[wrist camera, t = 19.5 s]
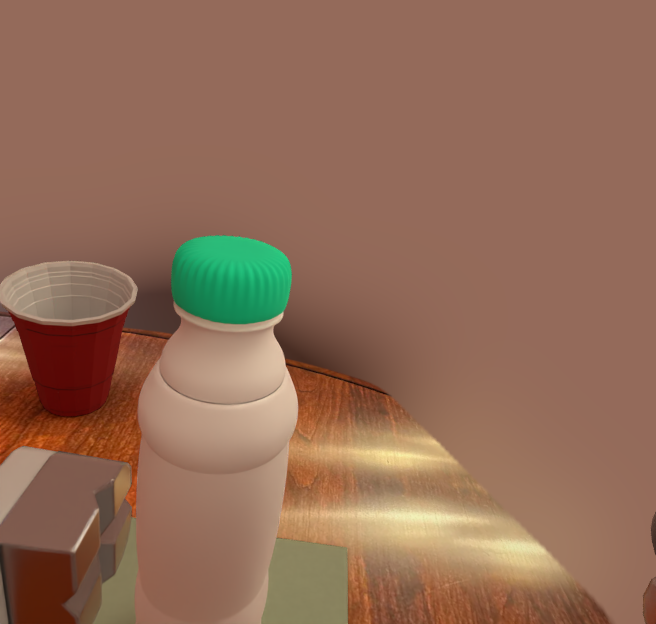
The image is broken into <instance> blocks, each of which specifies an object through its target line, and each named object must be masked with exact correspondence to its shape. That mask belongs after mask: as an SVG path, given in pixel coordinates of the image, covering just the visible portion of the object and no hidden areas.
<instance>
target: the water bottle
mask: <svg viewBox="0 0 656 624" xmlns="http://www.w3.org/2000/svg"><path fill="white" fill-rule="evenodd" d="M171 275H172V276H171V289H172V295H173V299H174V309H175V311H176V313H177V314H178V315H179V316H180V317H181V325H180V327H179V329H178V330H177V331H176V332H175V333H174V334H173V336H172V337H171V338H170V339H169V341H168V342H167V343H166V345H165V347H164V349H163V352H162V355H161V357H160V359H159V360H158V361H157V363H156V364H155V366H154V367H153V369H152V370H151V372H150V373H149V375H148V377H147V378H146V380H145V382H144V384H143V387H142V389H141V392H140V396H139V401H138V421H139V426H140V429H141V432H142V438H141V444H140V452H139V462H138V475H137V498H136V543H137V558H138V568H139V569H138V573H137V577H136V584H135V598H134V599H135V615H136V623H135V624H261V617H262V615H263V611H264V608H265V604H266V599H267V592H268V580H269V578H268V568H269V565H270V562H271V558H272V554H273V550H274V546H275V542H276V537H277V532H278V527H279V521H280V515H281V510H282V503H283V497H284V490H285V483H286V475H287V465H288V452H289V440H290V439H291V437H292V435H293V432H294V429H295V426H296V422H297V416H298V401H297V395H296V391H295V388H294V385H293V382H292V380H291V377H290V375H289V372H288V370H287V368H286V365H285V358H284V355H283V352H282V349H281V347H280V346H279V344H278V342H277V340H276V339H275V336H274V334H273V328H274V325H276V324H277V323H279V322H280V321H281V319H282V317H283V313H284V310H285V308H286V305H287V302H288V298H289V293H290V288H291V277H292V272H291V266H290V262H289V260H288V258H287V257H286V255H284V254H283V253H282V252H281V251H280V250H278V249H276V248H275V247H273V246H271V245H269V244H266V243H264V242H262V241H257V240H255V239H249V238H242V237H240V236H239V237H234V236H225V235H223V236H219V235H216V236H207V237H205V236H204V237H200V238H194V239H192V240H189V241H187V242H186V243H184V244H182V245H181V247H180V248H179V249H178V250H177V252H176V254H175V257H174V260H173V265H172V274H171Z"/></svg>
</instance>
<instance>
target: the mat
mask: <svg viewBox="0 0 656 624" xmlns="http://www.w3.org/2000/svg"><path fill="white" fill-rule="evenodd" d="M138 569H139V568H138V558H137V543H136V518H132V517H131V526H130V533H129V537H128V541H127V544H126V548H125V551H124V555H123V558H122V560H121V562H120V565H119V567H118V569H117V572H116V574H115V575H114V576H113V577H112V578H110V579H109V580H107V581H106V582H105V583H103V584H102V605H101V608H100V610H99V612H98V614H97V616H96V619H95V621H94V623H93V624H135V623H136V615H135V599H134V598H135V584H136V577H137V573H138ZM268 578H269V580H268V592H267V599H266V604H265V608H264V611H263V615H262V617H261V624H348V567H347V547H339V546H332V545H325V544H318V543H311V542H304V541H297V540H289V539H282V538H276V542H275V546H274V550H273V554H272V558H271V562H270V565H269V568H268Z"/></svg>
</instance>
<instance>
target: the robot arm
mask: <svg viewBox="0 0 656 624" xmlns="http://www.w3.org/2000/svg"><path fill="white" fill-rule="evenodd" d="M131 484H132V478H131V466H130V465H129V464H128V463H127V462H121V461H115V460H109V459H103V458H97V457H91V456H85V455H79V454H73V453H67V452H61V451H58V452H56V451H50V450H44V449H38V448H33V447H27V446H22V447H20V448H18V449H16V450H14V451H13V452H11V453H10V455H9V456H8V457H7V458H6V459H5V460H4V462H3V463H2V464H1V465H0V624H93V623H94V621H95V619H96V616H97V614H98V612H99V610H100V608H101V605H102V584H103V583H105V582H106V581H107V580H109V579H110V578H112V577H113V576H114V575H115V574H116V572H117V569H118V567H119V565H120V562H121V560H122V558H123V555H124V551H125V548H126V544H127V541H128V537H129V533H130V526H131V514H132V507H131V506H130V504H129V503H128V502H127V501H126V499H125V496H126V494H127V492H128V490H129V488H130V486H131ZM643 616H644V619H645V623H646V624H656V577H655V578H653V579H652V580H651V581H650V583H649V585H648V587H647V589H646V591H645V593H644V595H643Z"/></svg>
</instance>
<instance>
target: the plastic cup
mask: <svg viewBox="0 0 656 624" xmlns="http://www.w3.org/2000/svg"><path fill="white" fill-rule="evenodd" d="M137 289H138V288H137V287H136V285H135V283H134V282H133V280H132V279H131V277H129V276H128V275H126V274H124V273H122V272H121V271H119V270H117V269H115V268H112V267H108V266H104V265H101V264H97V263H89V262H77V261H60V262H48V263H42V264H38V265H34V266H30V267H27V268H23V269H20V270H18V271H17V272H15V273H13V274H11V275H10V276H8V277H6V278H5V279H4V280H3V282H2V283H1V285H0V302H1V304H2V306H3V307H4V308H5V309H7V310H8V312H9V314H11V317H12V320H13V321H14V323H15V326H16V329H17V331H18V332H19V336H20V339H21V342H22V346H23V349H24V352H25V355H26V359H27V362H28V365H29V369H30V372H31V375H32V378H33V380H34V381H35V385H36V388H37V392H38V395H39V398H40V401H41V403H42V404H43V407H44V409H46V410H47V411H49V412H50V413H52V414H55V415H59V416H80V415H85V414H89V413H91V412H93V411H95V410H97V409H99V408H100V407H101V406H102V405H103V404H104V403H105V402H106V399H107V397H108V394H109V390H110V385H111V380H112V374H113V372H114V368H115V364H116V359H117V354H118V349H119V344H120V339H121V334H122V329H123V326H124V322H125V318H126V317H127V313H128V310H129V308H130V307H131V305H133V304H134V301H135V298H136V293H137Z"/></svg>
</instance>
